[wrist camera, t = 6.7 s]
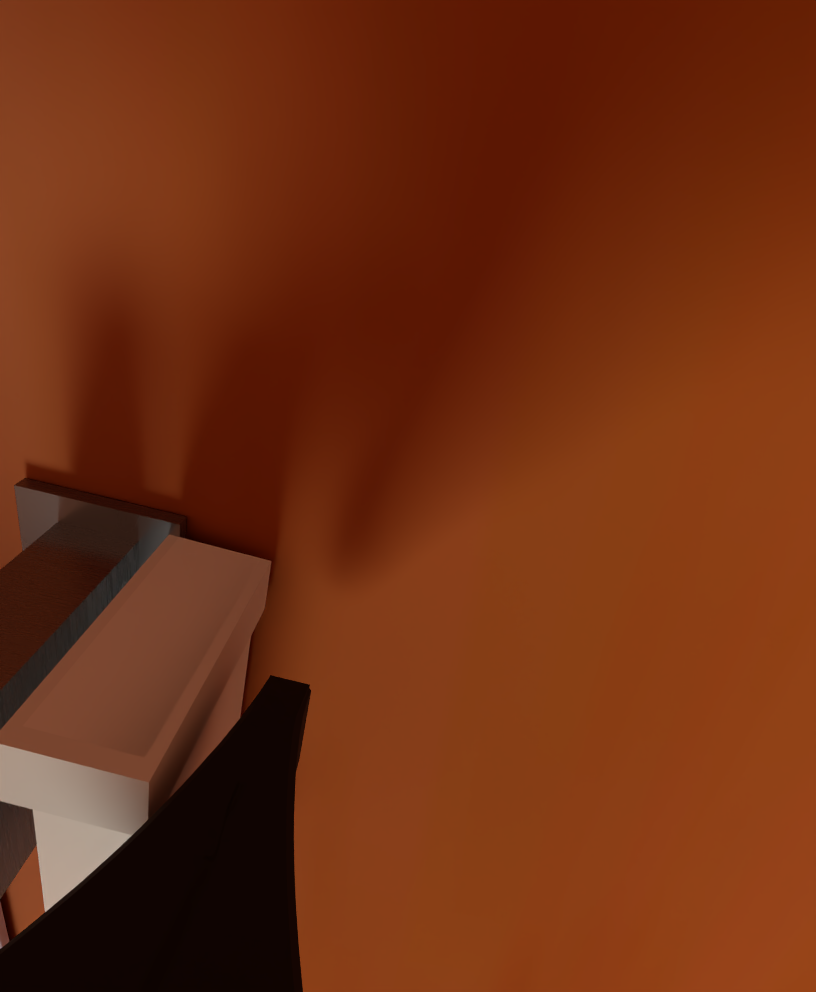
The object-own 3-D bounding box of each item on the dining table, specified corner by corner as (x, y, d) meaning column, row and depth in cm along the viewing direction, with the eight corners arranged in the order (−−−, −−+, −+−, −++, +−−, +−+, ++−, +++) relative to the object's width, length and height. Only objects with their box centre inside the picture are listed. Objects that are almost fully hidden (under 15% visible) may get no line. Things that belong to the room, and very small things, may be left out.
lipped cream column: (229, 858, 17) (139, 1093, 13) (156, 839, 17) (43, 1067, 13) (271, 561, 12) (149, 782, 8) (168, 534, 12) (-10, 741, 8)
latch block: (47, 671, 15) (-144, 893, 10) (25, 478, 12) (-245, 662, 8) (181, 703, 15) (46, 939, 10) (186, 516, 12) (9, 723, 8)
